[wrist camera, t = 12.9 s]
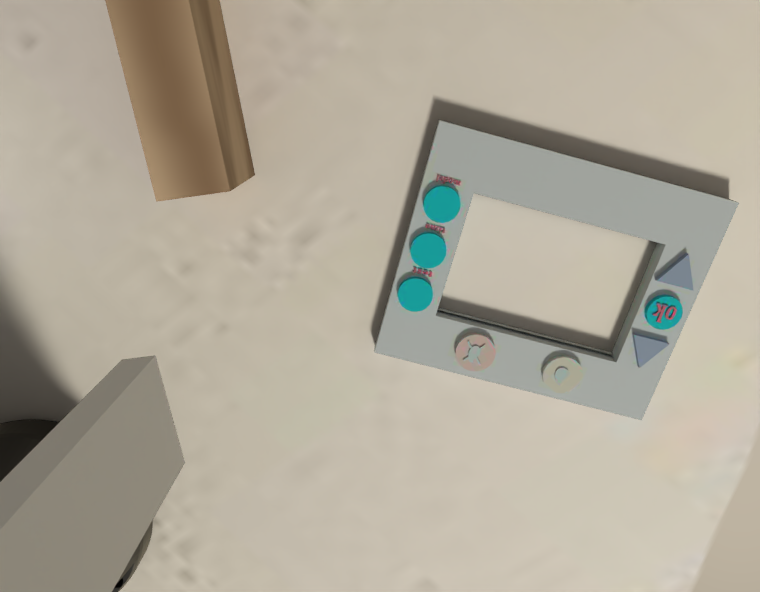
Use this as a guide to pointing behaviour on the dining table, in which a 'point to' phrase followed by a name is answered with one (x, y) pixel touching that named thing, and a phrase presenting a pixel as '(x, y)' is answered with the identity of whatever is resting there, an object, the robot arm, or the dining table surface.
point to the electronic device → (569, 200)
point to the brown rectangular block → (183, 95)
